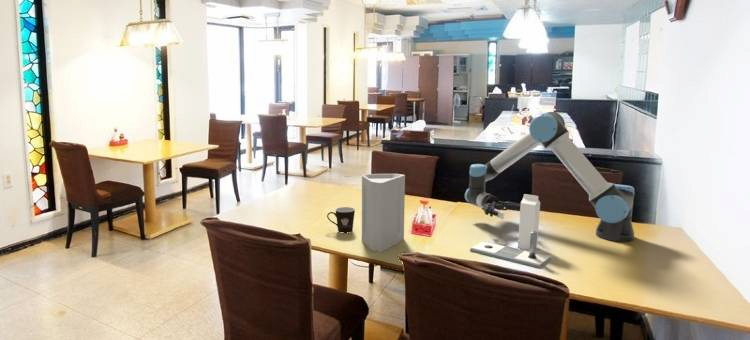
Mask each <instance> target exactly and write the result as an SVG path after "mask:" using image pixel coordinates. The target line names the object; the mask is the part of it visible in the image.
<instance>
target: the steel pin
mask: <svg viewBox="0 0 750 340" xmlns="http://www.w3.org/2000/svg"><path fill="white" fill-rule="evenodd" d="M536 245H537V246H538V242H537V232H536V231H531V234H530V249H529V250H528V251H529V257H530V258H536V253H537V247H536Z"/></svg>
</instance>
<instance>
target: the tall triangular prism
mask: <svg viewBox="0 0 750 340" xmlns="http://www.w3.org/2000/svg"><path fill="white" fill-rule="evenodd" d="M405 187H406V175H405V174H400V173H367V174H366V173H365V174H362V175H361V241H362V242H363V243H364V244H365V246H367V248H369V250H370V251H373V252H378V253H382V252H384V251H386V250H388V249H389V248H391V247H393V246H395V245H398V243H401V242H402V241H404V239H405V200H406V199H405V197H406V196H405V195H406V193H405V192H406V188H405Z"/></svg>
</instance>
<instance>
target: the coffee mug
mask: <svg viewBox="0 0 750 340" xmlns="http://www.w3.org/2000/svg"><path fill="white" fill-rule="evenodd" d="M355 211H356V209H355V207H350V206H340V207H337V208H335V212H334V211H330V212H328V213H327V215H326V218H327V219H328V221H329V222H331V223H332V224H334V225H336V228H337V232H338V231H339V232H344V233H343V234H348V233H347V232H351V233H352V232H353V227H354V220H355ZM330 214H333V215H334V217H336V222H335V221H333V220H331V219H330V218H329V215H330ZM339 232H338V233H339Z"/></svg>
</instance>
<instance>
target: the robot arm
mask: <svg viewBox="0 0 750 340" xmlns="http://www.w3.org/2000/svg"><path fill="white" fill-rule="evenodd" d="M565 122H566V121H565V119H564V117H563V116H562V115H561V114H560V113H558V112H556V111H549V112H548V111H547V112H541V113H539V114H537V115H536V116H534V117H533V118H532V119H531V121H530V123H529V125H528V126H529V127H528V128H529V131H528V132H527V133H526V134H524V135H523V136H522V137H520V138H519V139H517V140H516V141H515V142H514V143H512V144H510V145H509V146H508V147H507V148H505V149H504V150H503V151H501V152H500V153H498V154H497V155H496V156H495V157H493V158H492V159H491V160H490V161H488V162H487V163H485V164H481V163H475V164H474V163H473V164H471V165H470V167H469V172H468V173H469V181H468V182H469V183H468V188H467V189H466V191H465V193H464V199H465V201H466V202H467V203H469V204H471V205H473V206H476V207H477V208H479V209H480V208H481V210H483V212H484V214H485V216H488V215H489V217H493V216H495V217H497V218H498V219H499V218H500V219H502V220H505V212H504V211H508V210H509V211H515V212H520V206H521V203H516V202H512V201H507V200H506V201H501V200H500V198H499V197H497V196H495V195H494V194H491V193H487V192H486V182H488V181H491V180H493V179H495V178H496V177H497V176H498V175H499V174H500V173H502V172H503V171H504V170H506V169H507V168H509V167H510V166H512V165H514V164H515V163H516V162H517V161H519V160H520V159H521V158H523V157H525V156H526V155H527V154H529V153H530V152H531V151H533V150H535V149H536V148H537V147H538V146H540V145H542V146H543V147H544V148H545V150H549V151H552V153H554V155H555V156H556V157H557V158H558V159H559V161H560V162H561V163H562V164H563V166H565V168H566V169H567V170H568V171H569V172H570V174H571V175H572V176H573V178H575V180H576V181H577V182H578V184H580V186H581V187H582V189H584V191H586V193H587V194H588V201H589V203H590V204H591V205H592V206H593V207H594V210H595V213H596V215H597V217H598V218H599V222H598V224H597V226H596V230H595V235H596V236H597V237H599V238H601V239H604V240H608V241H613V242H621V243H622V242H623V243H625V242H631V241H633V240H634V239H635V231H634V227H633V223H632V217H633V208H634V207H633V206H634V198H635V187H633V186H631V185H628V184H627V185H626V184H619V183H618V184H616V183H613V182H608V181H607V180H606V179H605V178H604V177H603V175H602V174H601V173H600V172H599V171H598V170H597V168H596V167H595V166H594V165H593V164H592V162H590V161H589V159H588V158H587V157H586V156H585V155H584V153H583V152H582V151H581V150H580V149H579V148H578V147H577V145H576V144H575V143H574V142H573V141H572V139H571V138H570V137H569V134H570V131H569V129H568V128H567V127H566V124H565Z"/></svg>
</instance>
